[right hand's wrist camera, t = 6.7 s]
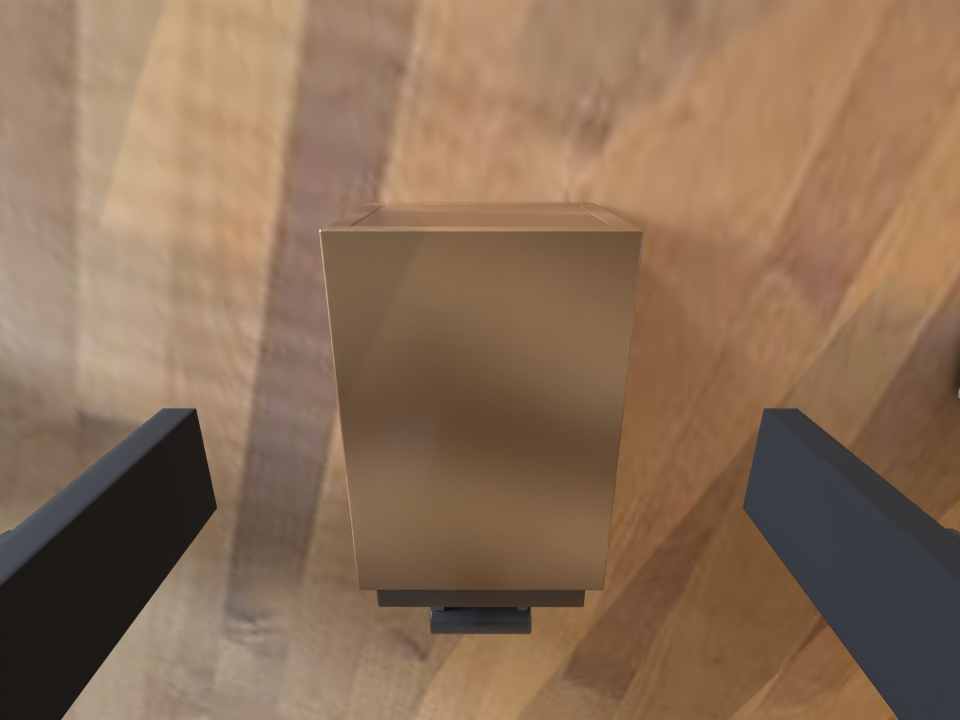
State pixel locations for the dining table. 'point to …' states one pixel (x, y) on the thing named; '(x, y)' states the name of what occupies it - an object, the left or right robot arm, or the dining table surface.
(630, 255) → the cabinet
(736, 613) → the dining table surface
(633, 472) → the dining table surface
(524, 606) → the drawer
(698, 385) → the dining table surface
